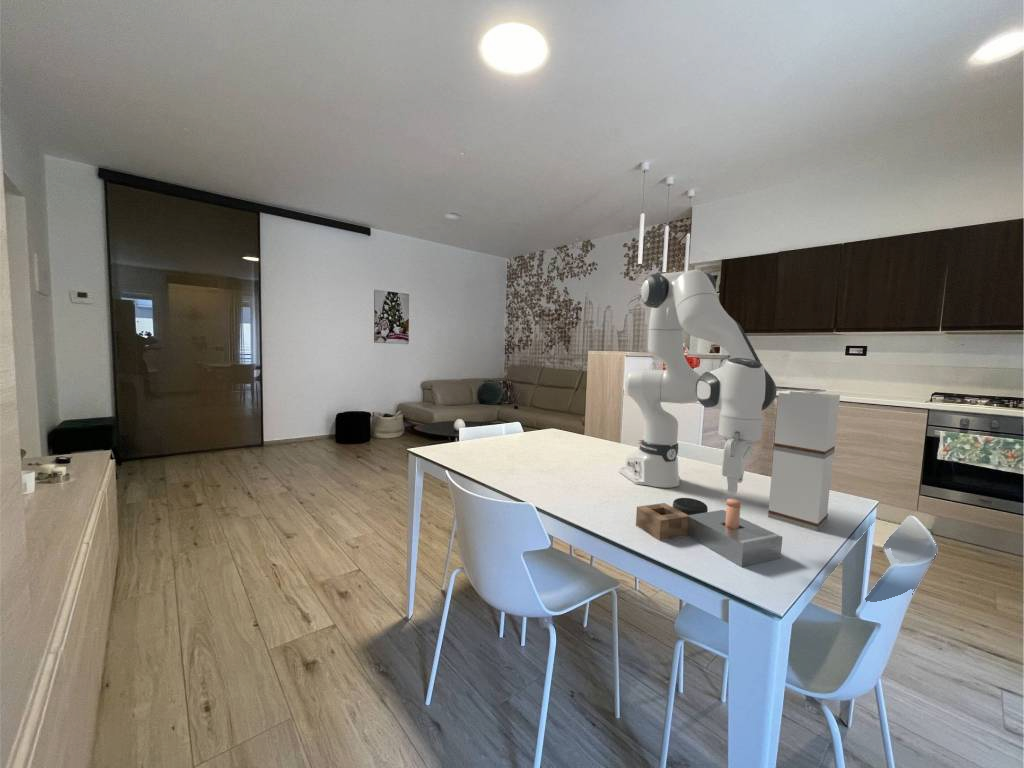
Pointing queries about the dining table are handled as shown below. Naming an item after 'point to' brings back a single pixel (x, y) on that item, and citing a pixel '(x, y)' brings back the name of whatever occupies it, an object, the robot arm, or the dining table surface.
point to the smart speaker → (690, 506)
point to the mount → (662, 521)
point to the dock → (734, 538)
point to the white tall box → (803, 458)
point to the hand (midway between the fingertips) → (735, 486)
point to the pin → (732, 514)
